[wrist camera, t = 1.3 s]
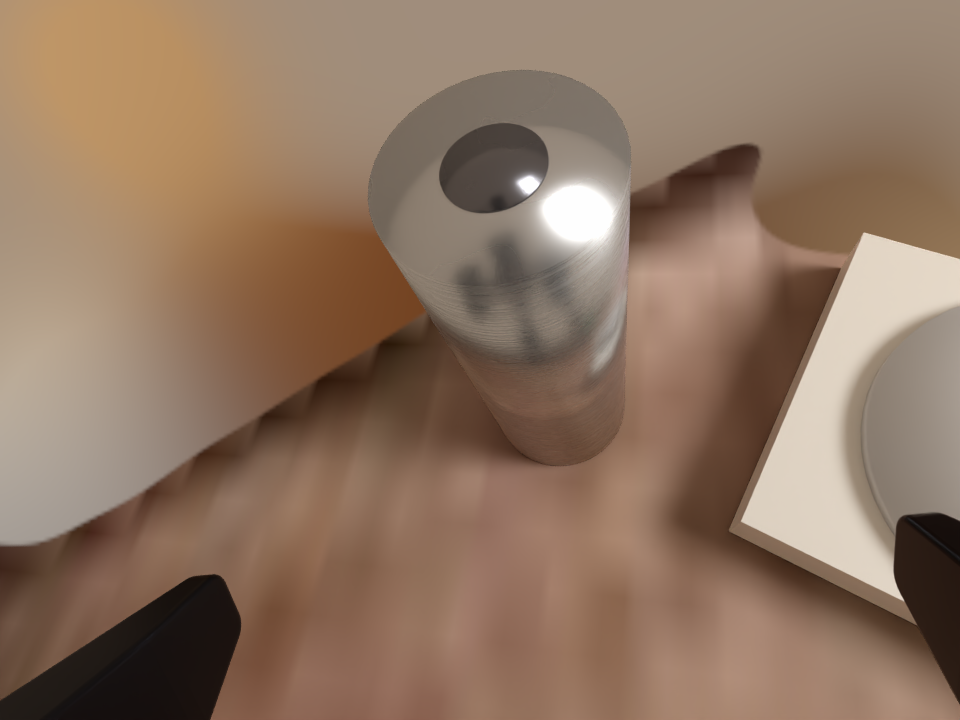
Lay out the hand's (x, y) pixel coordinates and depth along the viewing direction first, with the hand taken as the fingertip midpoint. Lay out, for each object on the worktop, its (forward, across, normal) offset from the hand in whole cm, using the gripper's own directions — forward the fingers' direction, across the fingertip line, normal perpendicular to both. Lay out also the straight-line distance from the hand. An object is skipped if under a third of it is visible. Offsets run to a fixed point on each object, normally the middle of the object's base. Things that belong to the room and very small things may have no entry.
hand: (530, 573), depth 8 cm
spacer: (+14, 0, +4) cm, 15 cm away
